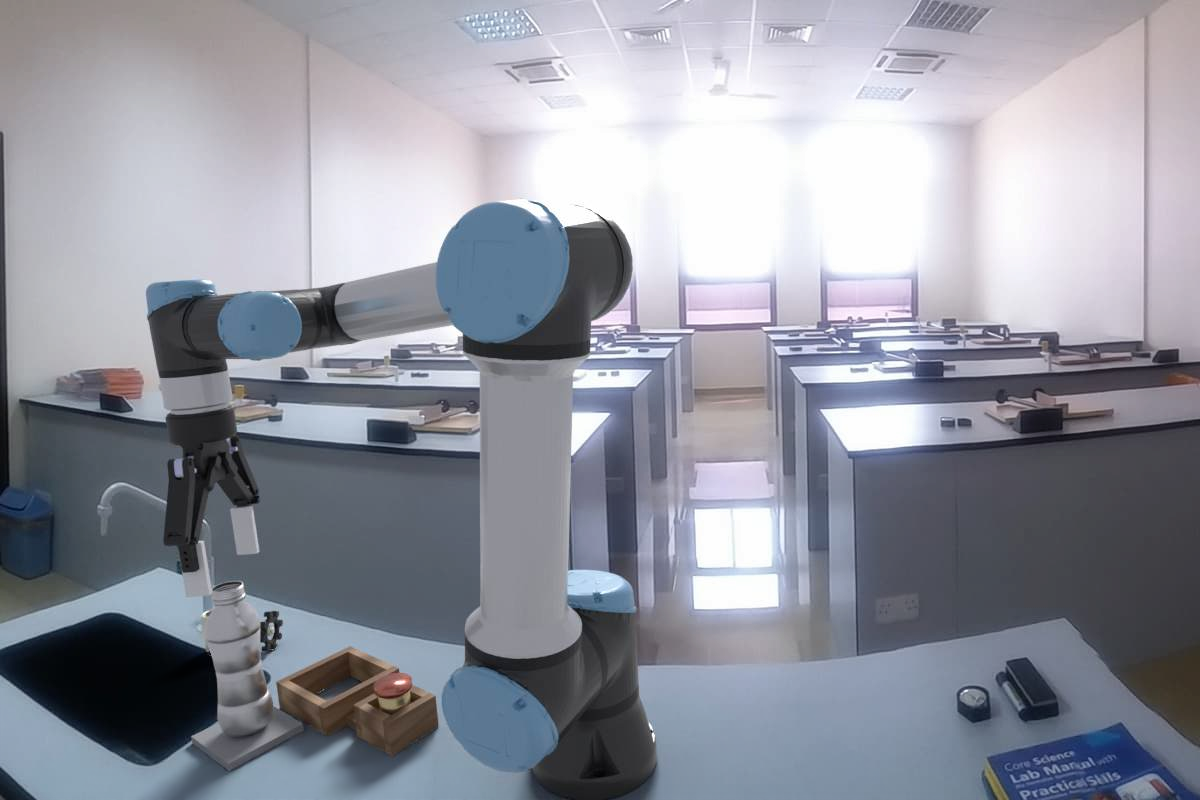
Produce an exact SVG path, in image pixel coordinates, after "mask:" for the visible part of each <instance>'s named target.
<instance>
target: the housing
mask: <svg viewBox="0 0 1200 800" xmlns="http://www.w3.org/2000/svg"><path fill="white" fill-rule="evenodd" d="M392 673H400V668H399V667H397V666H396V665H392V664H391V663H388V662H386V661H385V660H381V659H379V658H377V657H375V656H373V655H371V654H369V653H366V652H363V651H361V650H360V649H357V648H355V647H353V646H348V647H345V648H344V649H341V650H340V651H338V652H336V653H334V654H331V655H329V656H326V657H325V658H323V659H320V660H319V661H316V662H314V663H312V664H311V665H308V666H305V667H304V668H302V669H300V670H298V671H295V672H294V673H291V674H290V675H287V676H285V677H283V678H281V679H278V680H277V681H275V683H276V684H275V685H276V691H277V697H278V704H279V708H280V710H281V711H282V710H283V712H285V713H286V714H288V715H290V716H291V717H293V718H295V719H296V720H298V721H300V722H302V723H303V724H304V723H305V724H306V725H308V726H309V725H310V726H309V727H311V728H312V729H314V730H316V731H318V732H319V731H320V733H321V734H323V735H324V736H326V737H329V736H331V735H332V734H334V733H337V732H338V731H340V730H341V729H343V728H344V727H349V728H351V729H353V730H354V731H356V737H357V738H360V739H361V740H363V741H365V742H366V743H368V744H370V745H372V746H374V747H375V748H377V749H379V750H380V749H381V750H380V751H382V750H383V751H382V752H384V753H385V754H388V755H389V756H391V757H393V755H394V756H395V755H397V754H398V753H400V752H401V751H403V750H405V749H406V748H408V747H409V746H410V744H411V743H412V744H414V743H416V742H417V741H418V739H419V740H420V739H422V738H423V737H425V736H426V734H427V733H428V734H430V733H431V732H432V730H433V731H435V730H436V729H437V727H438V726H439V717H438V716H439V715H438V706H437V697H436V694H433V693H431V692H430V691H429V692H428V691H427V690H425V689H424V688H421V687H419V686H416V685H414V684H412V688H411V689H410V697H411V704H409V705H408V706H406V707H404V708H403V709H401V710H399V711H397V712H396V713H394V714H392V715H389V714H387V713H385V712H383V711H381V710H380V709H379V701H378V697H377V696H376V695H375V693H374V683H375V682H376V681H377V680H378V679H379V678H381V677H383V676H385V675H388V674H392ZM350 676H351V678H352V679H355V678H356V679H355V680H357V681H359V680H360V681H359V682H360V683H359V684H357V685H355V686H353V687H350V688H349V689H347V690H345V691H344V692H341V693H339V694H338V695H336V696H334V697H332V698H331V699H329V700H326V699H323V698H322V697H321V696H318V695H317V694H316V693H318V692H320V691H322V690H323V689H325V690H327V689H329V688H331V687H333V686H335V685H337V684H339V683H341V682H342V680H343V681H344V680H347V679H349V678H350ZM348 677H349V678H348ZM361 681H362V682H361ZM338 682H339V683H338ZM336 683H337V684H336ZM334 684H335V685H334ZM332 685H333V686H332ZM330 686H331V687H330ZM326 688H327V689H326ZM323 691H324V690H323ZM323 691H322V692H323ZM320 693H321V692H320ZM315 694H316V695H315ZM318 694H319V693H318ZM439 727H440V726H439ZM439 727H438V728H439ZM429 732H430V733H429ZM428 734H427V735H428ZM424 735H425V736H424ZM422 736H423V737H422ZM421 737H422V738H421ZM416 740H417V741H416ZM415 741H416V742H415ZM413 742H414V743H413ZM412 744H411V745H412ZM408 745H409V746H408ZM407 746H408V747H407ZM405 747H406V748H405ZM404 748H405V749H404ZM402 749H403V750H402ZM399 751H400V752H399ZM396 753H397V754H396Z"/></svg>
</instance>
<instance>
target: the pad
mask: <svg viewBox="0 0 1200 800" xmlns="http://www.w3.org/2000/svg"><path fill="white" fill-rule="evenodd" d="M304 730H305V729H304V722H302V721H300V720H299V719H297V718H295V717H294V716H292V715H290V714H289V713H287V712H285V711H284V710H283V711H282V709H279V708H278V707H276V706H274V705H273V715H272V718H271V720H270V722H269V723H268V725H267V726H266V727H264V728H263V729H261V730H260V731H258V732H256V733H253V734H250V735H247V736H242V737H232V736H229V735H227V734H226V733H224V732H223V731H222V730H221V727H220V725H219V722H218V723H215V724H213V725H212V726H209V727H207V728H206V729H204V730H201V731H200V732H197V733H195V734H193V735H191V737H190V738H191V744H192V745H194V746H196V747H197V748H198V749H199V750H200V751H202V752H203V753H204V754H206V756H208V757H210V758H211V759H213V760H214V761H215V762H217V764H219V765H220V766H222V767H223V768H225V770H227V771H229V772H231V771H232V770H234V769H235V768H237V767H239V766H241V765H243V764H245V763H247V762H249V761H250V760H252V759H254V758H256V757H258V756H259V755H261V754H263V753H265V752H267V751H269V750H270V749H272V748H274V747H276V746H277V745H279V744H282V743H283V742H285V741H287V740H289V739H291V738H293V737H294V736H296V735H298V734H300V733H301V732H303V731H304Z"/></svg>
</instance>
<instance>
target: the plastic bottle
mask: <svg viewBox="0 0 1200 800" xmlns="http://www.w3.org/2000/svg"><path fill="white" fill-rule="evenodd" d="M245 599H246V591H245V587H244V582H243V581H242V580H228V581H224V582H221V583H218V584H216V585H214V586H212V594H211V604H212V605H213V606H214V607H213V608H212V609H213V611H212V612H211V614H210V615H209V617H208V619H207V621H206V623H205V628H204V635H205V639H206V641H207V644H208V647H209V650H210V653H211V655H210V656H211V658H212V663H213V667H214V670H215V676H216V683H217V708H216V709H217V712H216V715H217V717H216V719H217V722H218V723H219V725H220V727H221V730H222V731H223V732H224V733H226V734H227V735H229V736H232V737H242V736H247V735H250V734H253V733H256V732H258V731H260V730H261V729H263V728H264V727H266V726H267V725H268V723H269V722H270V720H271V718H272V715H273V706H274V701H273V697H272V695H271V694H272V693H271V692H270V690H269V688H268V685H267V680H266V676H265V674H264V669H263V664H262V663H263V662H262V652H261V651H262V649H261V643H260V622H261V618H260V615H259V614H258V612H257V610H256V609H254V607H253V606H252V605H250V604H249V603H248V602H247V601H245Z"/></svg>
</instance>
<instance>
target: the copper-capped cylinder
mask: <svg viewBox="0 0 1200 800" xmlns="http://www.w3.org/2000/svg"><path fill="white" fill-rule="evenodd" d="M412 685H413V678H412V677H411V675H410V674H408V673H405V672H399V673H392V674H388V675H385V676H383V677H381V678H379V679H378V680H377V681H376V682H375V683H374V693H375V695H376V696H377V697H378V701H379V709H380V710H381V711H383V712H385V713H387V714H389V715H392V714H394V713H396V712H397V711H399V710H401V709H403V708H404V707H406V706H408V705H409V704H411V697H410V689H411V688H412Z"/></svg>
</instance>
